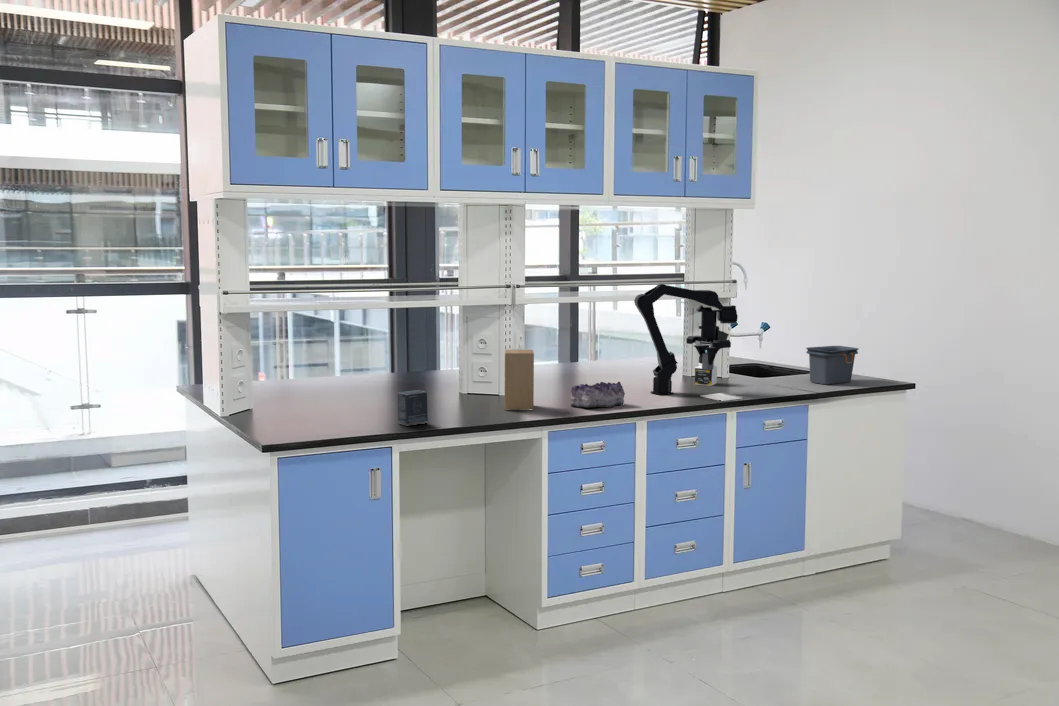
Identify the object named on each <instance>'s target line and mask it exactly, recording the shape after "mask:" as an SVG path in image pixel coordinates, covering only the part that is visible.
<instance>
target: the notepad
mask: <svg viewBox="0 0 1059 706" xmlns="http://www.w3.org/2000/svg"><path fill="white" fill-rule="evenodd" d="M700 397H702V398H706V399H710V400H711V399H712V400H714V401H715V400H716V401H719V400H721V401H720V402H728V401H735V400H744V399H745V396H741V395H735V394H731V393H726V392H719V393H709V394H701V395H700Z"/></svg>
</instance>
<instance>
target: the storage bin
mask: <svg viewBox="0 0 1059 706" xmlns="http://www.w3.org/2000/svg"><path fill="white" fill-rule="evenodd" d="M805 349H806V354H807V355H808V354H809V357H808V358H809V359H808V360H809V362H808V363H809V381H810V382H811V383H814V384H819V385H834V384H844V383H849V382H850V383H851V381H852V375H853V371H854V363H855V357H856V355H858V354H859V351H858V350H859V349H860V348H858V347H854V346H853V347H851V346H844V345H826V346H825V345H824V346H811V347H805Z"/></svg>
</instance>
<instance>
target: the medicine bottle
mask: <svg viewBox="0 0 1059 706" xmlns="http://www.w3.org/2000/svg"><path fill="white" fill-rule="evenodd" d="M717 381H718V366H717V365H713V369H712V370H705V369H702V359H701V357H700V355H699V356H698V365H697V366H695V367H694V385H696V386H708V387H712V386H714V385H716V384H718V383H717Z"/></svg>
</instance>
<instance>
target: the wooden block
mask: <svg viewBox="0 0 1059 706" xmlns="http://www.w3.org/2000/svg"><path fill="white" fill-rule="evenodd" d="M534 360H535V355H534V350H533V349H505V350H504V410H505V409H510V410H509V411H513V410H512V409H533V410H534V403H535V402H534V400H535V399H534V396H535V395H534V393H535V392H534V391H535V390H534V389H535V387H534V380H535V378H534V377H535V376H534V375H535V373H534V372H535V369H534V366H535V361H534Z"/></svg>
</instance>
